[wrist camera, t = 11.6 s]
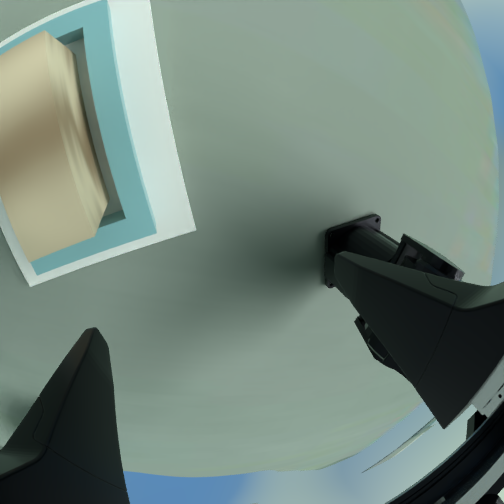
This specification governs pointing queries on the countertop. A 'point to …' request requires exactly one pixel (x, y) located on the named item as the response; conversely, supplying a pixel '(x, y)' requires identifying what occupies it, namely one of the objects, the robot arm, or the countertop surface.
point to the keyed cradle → (116, 133)
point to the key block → (47, 149)
